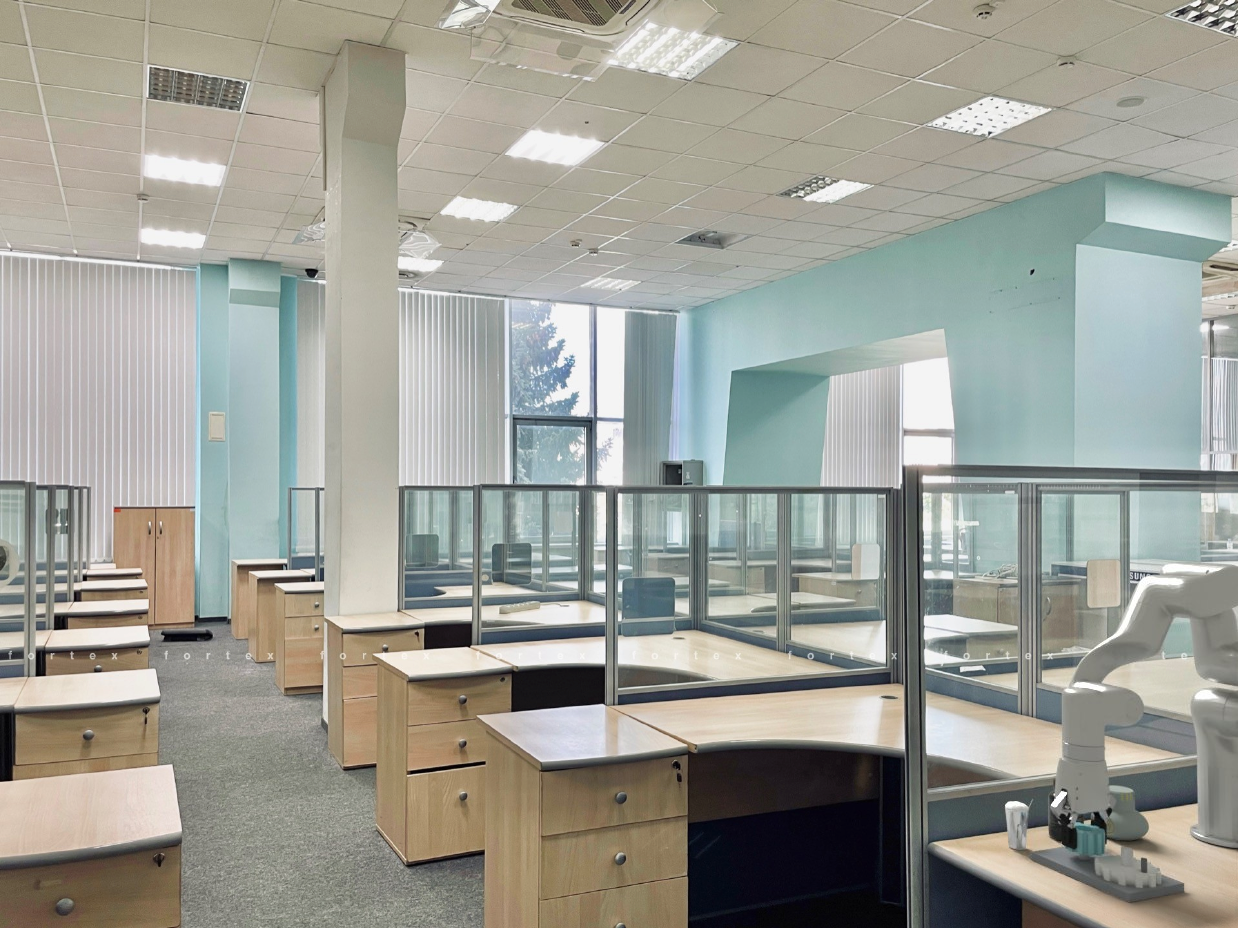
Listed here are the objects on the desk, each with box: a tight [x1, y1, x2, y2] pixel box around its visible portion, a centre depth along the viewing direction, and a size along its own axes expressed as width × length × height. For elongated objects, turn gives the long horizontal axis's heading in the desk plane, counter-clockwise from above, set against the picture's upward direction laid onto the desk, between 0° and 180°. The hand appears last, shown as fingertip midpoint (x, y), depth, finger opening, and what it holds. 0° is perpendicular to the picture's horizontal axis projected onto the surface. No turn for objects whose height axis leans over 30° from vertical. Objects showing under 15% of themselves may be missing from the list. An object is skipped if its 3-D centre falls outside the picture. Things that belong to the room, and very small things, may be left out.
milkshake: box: [1004, 798, 1034, 851], centre depth 193 cm, size 4×5×10 cm
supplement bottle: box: [1047, 777, 1085, 843], centre depth 199 cm, size 7×7×12 cm
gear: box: [1063, 822, 1106, 856], centre depth 183 cm, size 7×7×4 cm
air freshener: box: [1090, 784, 1150, 841], centre depth 201 cm, size 11×8×10 cm
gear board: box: [1030, 846, 1185, 903], centre depth 179 cm, size 14×22×6 cm, turn 22°
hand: (1083, 843), depth 183 cm, fingers closed on gear, 7 cm apart
